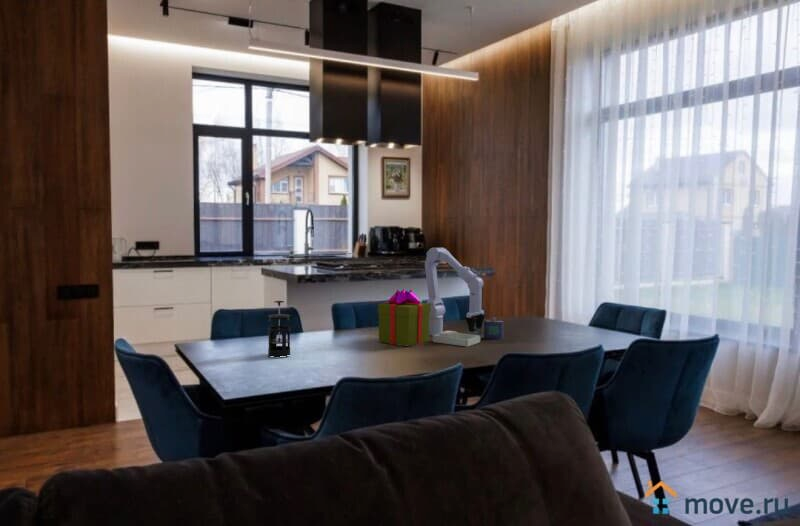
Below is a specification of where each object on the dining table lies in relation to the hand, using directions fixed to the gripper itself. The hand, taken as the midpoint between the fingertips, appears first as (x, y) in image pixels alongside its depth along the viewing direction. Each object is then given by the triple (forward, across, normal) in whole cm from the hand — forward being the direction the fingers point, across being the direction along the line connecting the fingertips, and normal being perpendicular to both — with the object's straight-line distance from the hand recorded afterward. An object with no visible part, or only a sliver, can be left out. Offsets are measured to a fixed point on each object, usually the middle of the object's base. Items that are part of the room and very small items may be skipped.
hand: (475, 330), depth 277 cm
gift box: (+5, -24, +25) cm, 35 cm away
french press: (+5, -79, +51) cm, 94 cm away
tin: (+5, 0, 0) cm, 5 cm away
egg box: (+4, -11, +9) cm, 15 cm away
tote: (+5, -11, +4) cm, 13 cm away
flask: (+5, +8, -6) cm, 11 cm away
